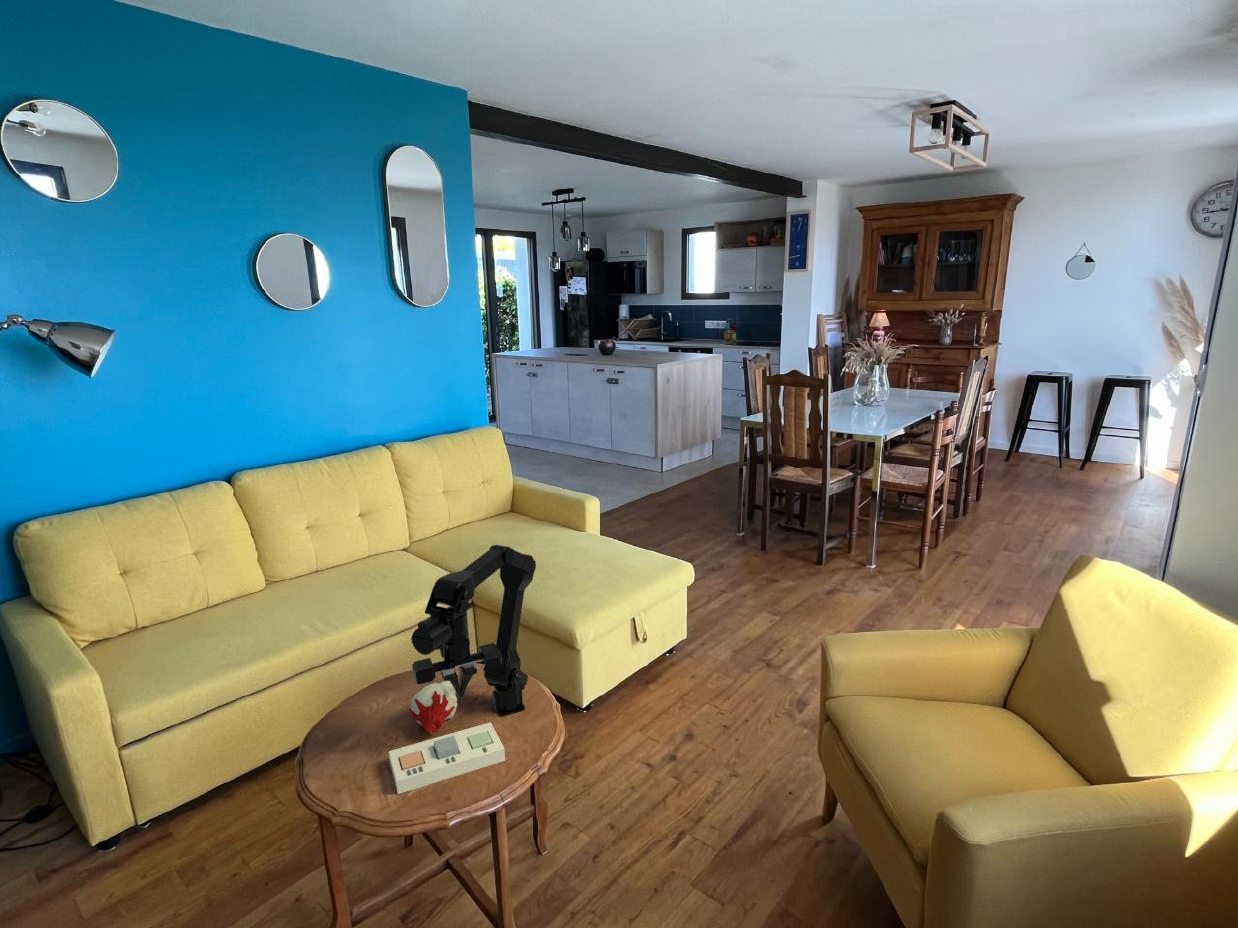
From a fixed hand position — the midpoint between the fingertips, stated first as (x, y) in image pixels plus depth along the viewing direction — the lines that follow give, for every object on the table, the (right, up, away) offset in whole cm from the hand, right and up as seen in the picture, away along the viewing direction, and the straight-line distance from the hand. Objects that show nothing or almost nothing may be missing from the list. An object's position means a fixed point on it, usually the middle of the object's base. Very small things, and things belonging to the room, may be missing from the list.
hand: (460, 697), depth 153 cm
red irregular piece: (-9, -11, +13) cm, 19 cm away
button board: (-2, -14, -1) cm, 14 cm away
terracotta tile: (-9, -14, -5) cm, 17 cm away
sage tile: (+4, -12, +1) cm, 13 cm away
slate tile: (-2, -12, -2) cm, 12 cm away
